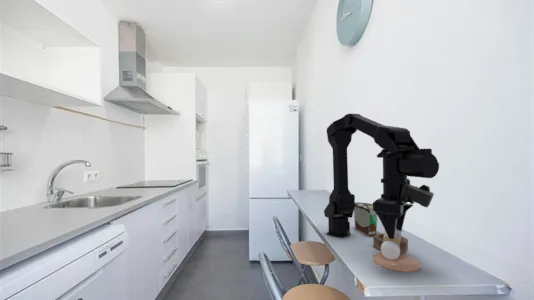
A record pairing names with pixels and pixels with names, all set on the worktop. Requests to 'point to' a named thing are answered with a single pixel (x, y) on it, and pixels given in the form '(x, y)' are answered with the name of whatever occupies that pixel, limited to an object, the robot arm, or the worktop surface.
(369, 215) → the food container
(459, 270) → the worktop surface
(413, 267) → the peach round disc
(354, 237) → the worktop surface
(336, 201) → the robot arm
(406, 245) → the ring
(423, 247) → the worktop surface
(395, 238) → the sprinkles bottle
